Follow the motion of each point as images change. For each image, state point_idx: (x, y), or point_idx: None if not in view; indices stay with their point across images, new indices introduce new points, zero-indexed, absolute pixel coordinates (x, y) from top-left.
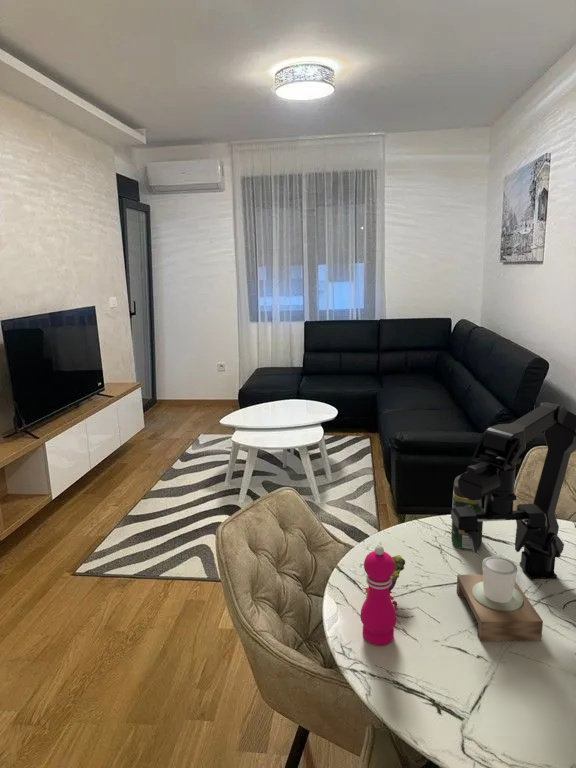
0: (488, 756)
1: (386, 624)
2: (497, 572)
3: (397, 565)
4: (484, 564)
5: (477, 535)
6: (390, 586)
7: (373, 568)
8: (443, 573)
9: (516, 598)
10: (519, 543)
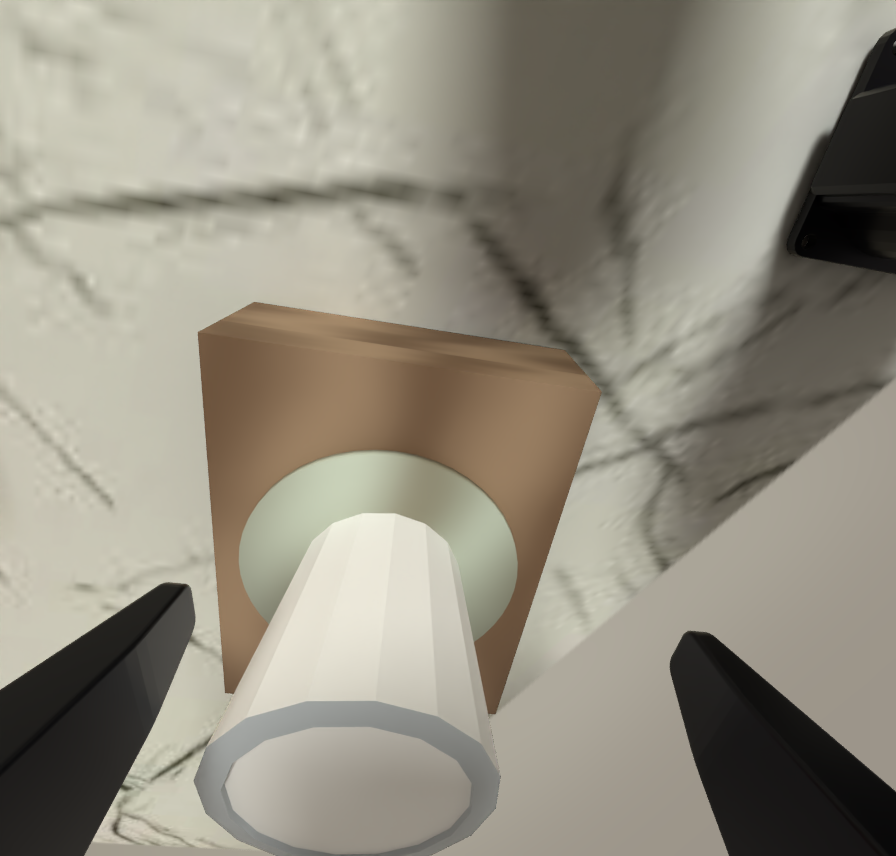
0: (167, 840)
1: None
2: (284, 854)
3: None
4: (209, 785)
5: None
6: None
7: None
8: (218, 42)
9: (468, 610)
10: (732, 841)
